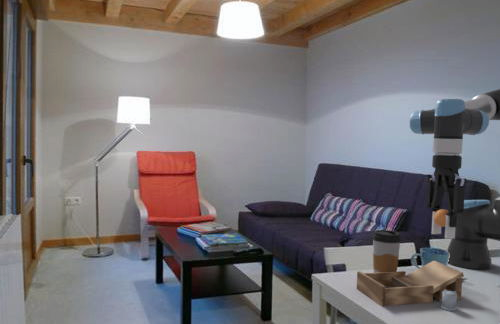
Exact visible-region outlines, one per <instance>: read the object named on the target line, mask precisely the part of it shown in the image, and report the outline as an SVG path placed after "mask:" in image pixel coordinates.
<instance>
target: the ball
mask: <svg viewBox="0 0 500 324" xmlns="http://www.w3.org/2000/svg"><path fill="white" fill-rule="evenodd" d="M447 213H448V209H445V208H444V209H443V208H441V210H438V211H437V212H436V213H435V216H434V219H435V222H436V223H437V224H438V225H439V226H442V227H441V228H443V227H444V228H445V223H446V214H447Z"/></svg>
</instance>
